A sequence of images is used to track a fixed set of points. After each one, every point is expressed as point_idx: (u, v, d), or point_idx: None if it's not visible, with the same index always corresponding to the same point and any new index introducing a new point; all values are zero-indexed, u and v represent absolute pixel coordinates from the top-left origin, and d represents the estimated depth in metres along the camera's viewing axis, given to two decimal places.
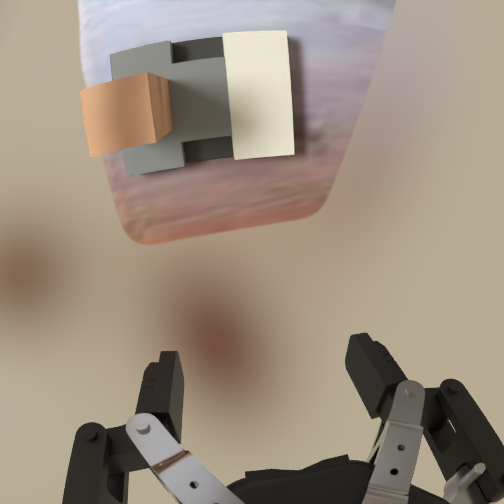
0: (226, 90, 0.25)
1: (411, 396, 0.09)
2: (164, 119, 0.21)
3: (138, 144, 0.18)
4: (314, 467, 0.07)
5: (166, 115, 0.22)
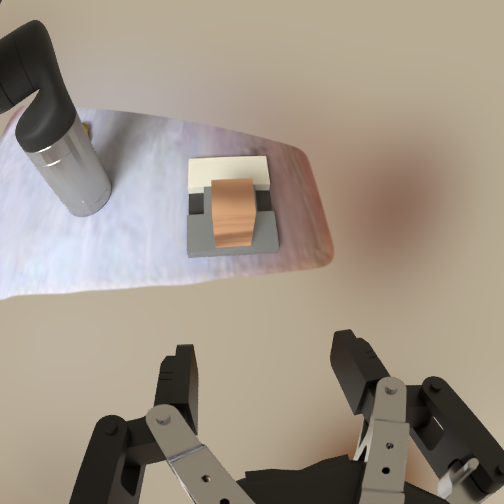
0: None
1: (391, 393, 0.09)
2: None
3: (252, 186, 0.35)
4: (314, 467, 0.07)
5: None
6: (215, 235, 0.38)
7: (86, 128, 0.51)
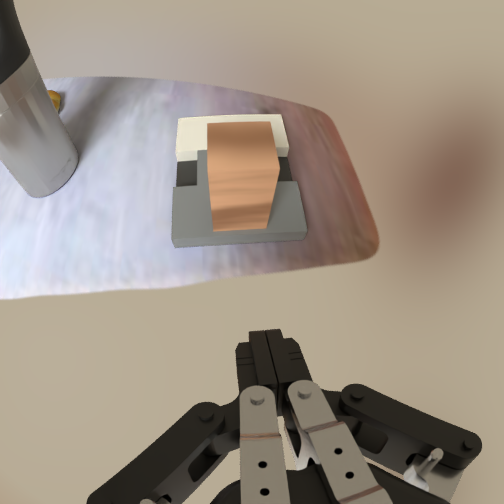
0: None
1: (302, 397, 0.09)
2: None
3: (271, 131, 0.22)
4: (314, 468, 0.07)
5: None
6: (213, 210, 0.24)
7: (58, 96, 0.37)
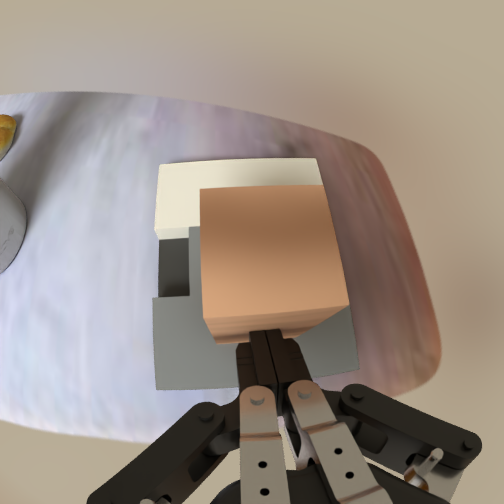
0: None
1: (302, 397, 0.09)
2: None
3: (327, 211, 0.11)
4: (314, 467, 0.07)
5: None
6: (216, 336, 0.14)
7: (12, 122, 0.26)
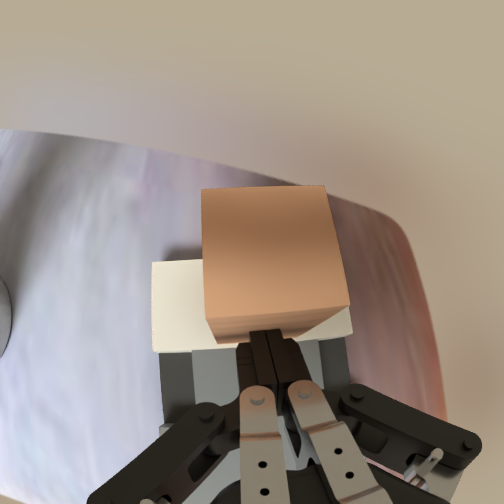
0: None
1: (302, 397, 0.09)
2: None
3: (328, 211, 0.11)
4: (314, 467, 0.07)
5: None
6: (217, 336, 0.14)
7: None
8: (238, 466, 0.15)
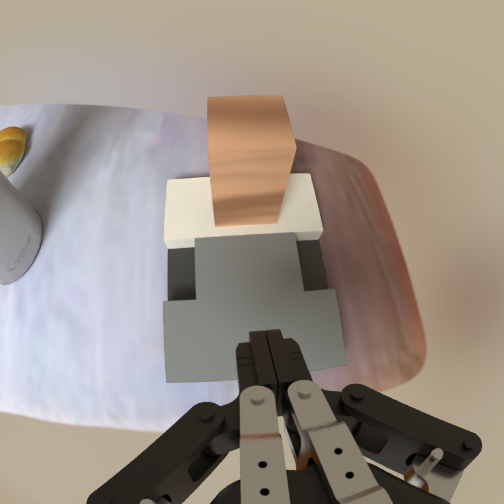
0: (238, 236, 0.24)
1: (302, 397, 0.09)
2: None
3: (284, 106, 0.18)
4: (314, 468, 0.07)
5: None
6: (214, 200, 0.20)
7: (23, 135, 0.29)
8: (229, 336, 0.20)
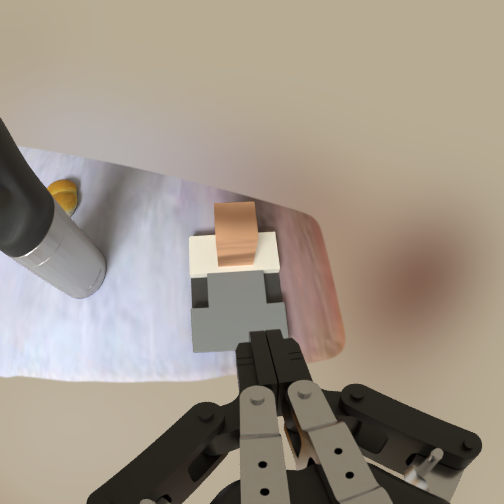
0: (231, 272, 0.43)
1: (302, 397, 0.09)
2: None
3: (254, 210, 0.36)
4: (314, 467, 0.07)
5: None
6: (218, 256, 0.39)
7: (74, 187, 0.47)
8: (226, 327, 0.39)
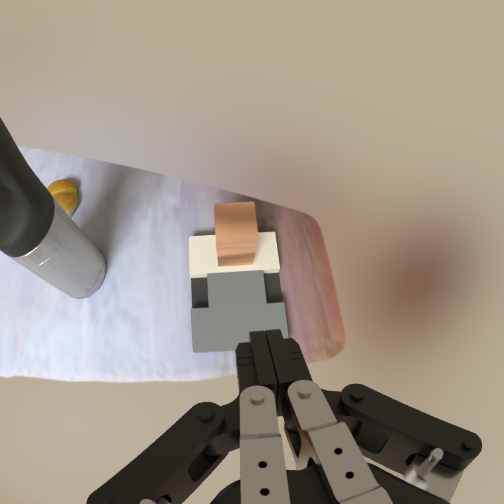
0: (231, 272, 0.43)
1: (302, 397, 0.09)
2: None
3: (254, 210, 0.36)
4: (314, 467, 0.07)
5: None
6: (218, 256, 0.39)
7: (74, 187, 0.47)
8: (226, 327, 0.39)
